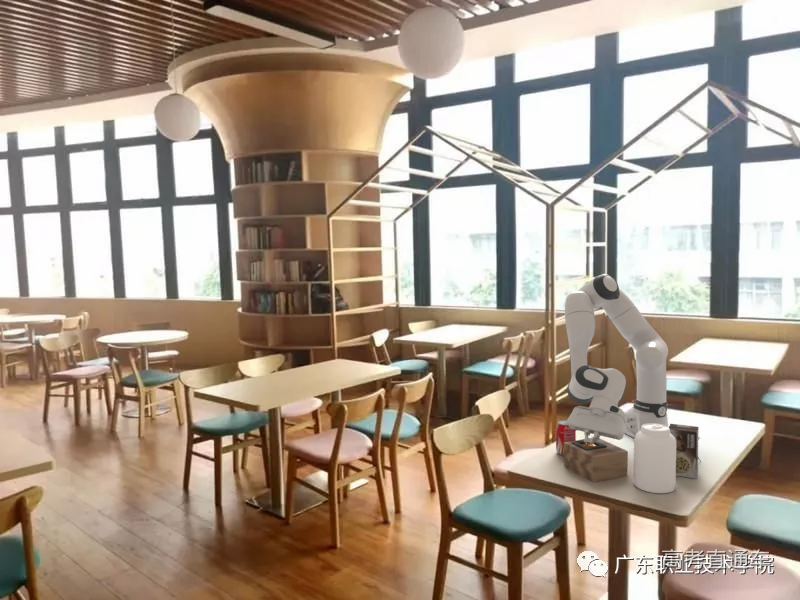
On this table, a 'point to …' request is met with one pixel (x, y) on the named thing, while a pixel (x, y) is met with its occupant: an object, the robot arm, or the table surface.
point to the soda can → (563, 435)
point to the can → (655, 459)
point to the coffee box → (686, 450)
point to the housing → (596, 460)
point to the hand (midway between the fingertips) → (588, 443)
